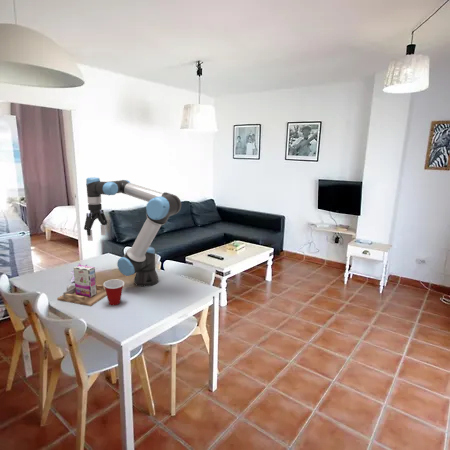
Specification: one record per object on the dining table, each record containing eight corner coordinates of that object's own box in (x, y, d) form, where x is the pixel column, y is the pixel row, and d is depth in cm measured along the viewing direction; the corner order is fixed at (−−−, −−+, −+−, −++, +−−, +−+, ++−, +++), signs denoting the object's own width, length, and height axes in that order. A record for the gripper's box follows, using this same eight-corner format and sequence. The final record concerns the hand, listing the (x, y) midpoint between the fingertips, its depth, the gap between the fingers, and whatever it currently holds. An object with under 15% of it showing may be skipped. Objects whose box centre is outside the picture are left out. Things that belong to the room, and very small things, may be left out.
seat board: (111, 292, 187) (111, 284, 185) (90, 306, 170) (90, 297, 169) (80, 287, 193) (79, 279, 191) (57, 300, 176) (56, 291, 174)
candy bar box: (97, 294, 181) (95, 267, 178) (90, 297, 177) (88, 270, 173) (81, 291, 185) (79, 264, 181) (75, 294, 180) (72, 267, 177)
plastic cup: (114, 309, 166) (112, 288, 164) (100, 304, 172) (98, 284, 169) (129, 301, 176) (128, 281, 173) (115, 297, 181) (114, 277, 178)
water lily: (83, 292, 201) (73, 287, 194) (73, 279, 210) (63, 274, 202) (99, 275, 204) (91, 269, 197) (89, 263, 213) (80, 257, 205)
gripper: (101, 200, 203) (103, 232, 207) (75, 206, 179) (78, 242, 184) (111, 201, 201) (113, 233, 206) (87, 207, 177) (90, 243, 182)
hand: (97, 237), depth 195 cm, fingers open, 13 cm apart
